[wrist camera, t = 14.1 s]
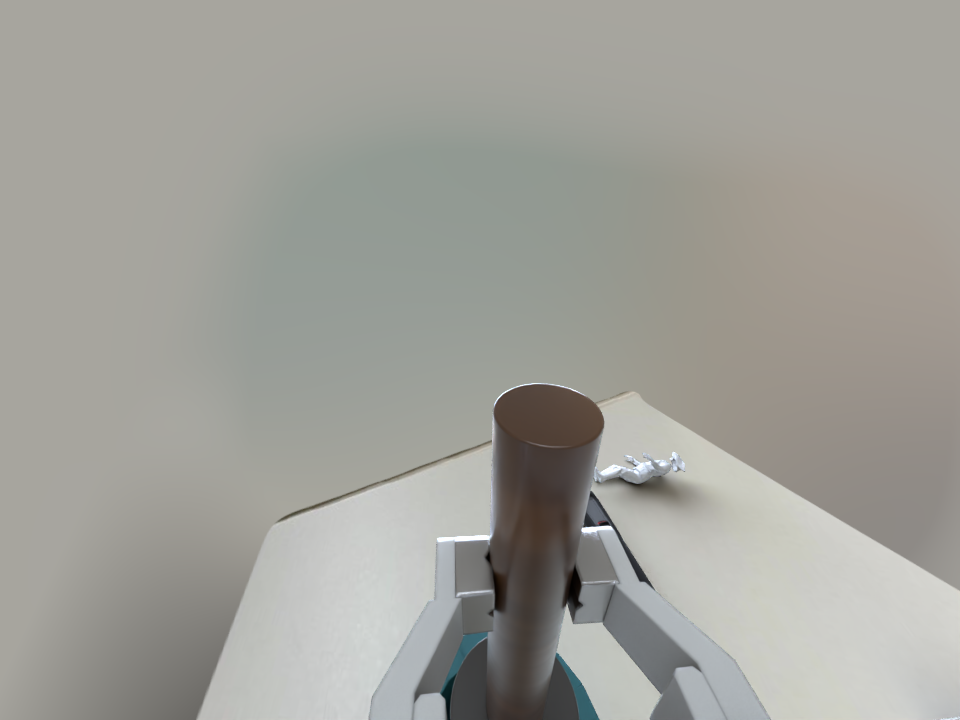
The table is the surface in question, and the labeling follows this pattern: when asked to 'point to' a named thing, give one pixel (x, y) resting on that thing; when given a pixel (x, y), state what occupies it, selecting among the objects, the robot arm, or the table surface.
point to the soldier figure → (640, 469)
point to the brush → (531, 553)
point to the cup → (585, 707)
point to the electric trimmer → (599, 518)
